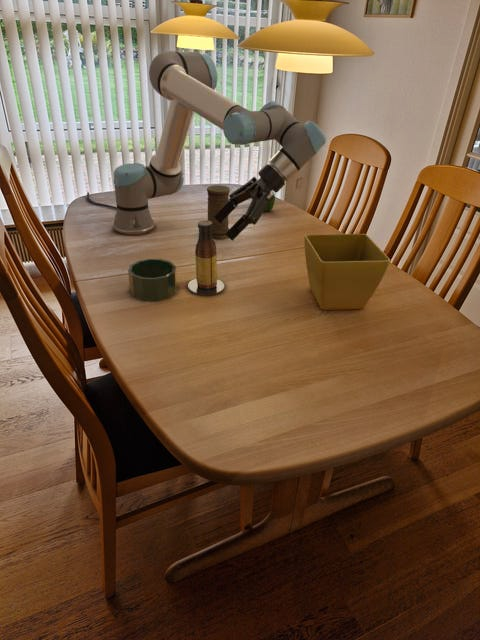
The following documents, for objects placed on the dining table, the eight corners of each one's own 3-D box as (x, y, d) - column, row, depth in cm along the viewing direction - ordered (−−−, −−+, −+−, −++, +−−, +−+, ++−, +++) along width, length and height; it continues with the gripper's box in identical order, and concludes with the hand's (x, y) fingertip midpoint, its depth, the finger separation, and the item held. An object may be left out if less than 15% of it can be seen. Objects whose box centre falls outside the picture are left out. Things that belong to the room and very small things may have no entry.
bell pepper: (273, 214, 192) (275, 191, 187) (254, 212, 193) (255, 189, 187) (274, 208, 199) (276, 186, 194) (256, 206, 200) (258, 184, 195)
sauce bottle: (211, 278, 137) (212, 217, 126) (220, 287, 132) (222, 224, 121) (192, 282, 134) (191, 220, 123) (200, 292, 129) (200, 227, 119)
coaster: (180, 289, 131) (180, 287, 131) (200, 275, 139) (200, 273, 139) (211, 299, 127) (211, 297, 127) (230, 284, 135) (230, 283, 135)
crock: (121, 292, 128) (118, 271, 124) (150, 275, 138) (148, 255, 134) (157, 305, 123) (156, 283, 119) (185, 286, 133) (184, 265, 129)
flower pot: (312, 317, 121) (321, 261, 112) (297, 284, 137) (303, 233, 128) (378, 315, 124) (392, 260, 115) (355, 283, 140) (366, 233, 131)
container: (229, 239, 165) (230, 192, 156) (205, 238, 165) (205, 190, 155) (229, 231, 173) (231, 185, 163) (207, 230, 173) (207, 183, 163)
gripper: (302, 195, 112) (243, 254, 117) (270, 170, 132) (220, 221, 137) (285, 175, 108) (224, 236, 112) (254, 152, 128) (204, 205, 132)
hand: (222, 228), depth 125 cm, fingers open, 13 cm apart
